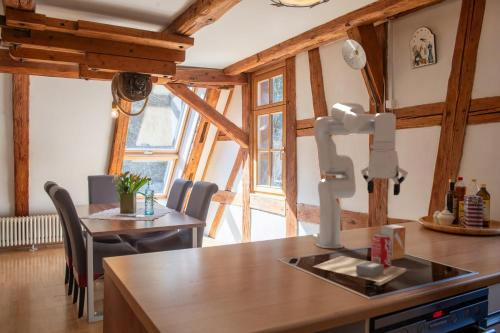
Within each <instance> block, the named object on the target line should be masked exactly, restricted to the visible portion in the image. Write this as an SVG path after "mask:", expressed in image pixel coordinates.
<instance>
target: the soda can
mask: <svg viewBox="0 0 500 333" xmlns="http://www.w3.org/2000/svg"><path fill="white" fill-rule="evenodd" d="M370 256H371V262H373V263H378V264H383V265H384V269H388V268H389V267H391V266H392V261H393V260H392V240H391V238H390V235H388V234H382V233H381V232H378V233H374V234H373V237H372V239H371V255H370Z"/></svg>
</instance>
